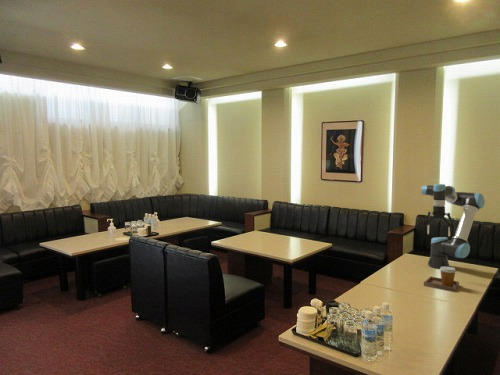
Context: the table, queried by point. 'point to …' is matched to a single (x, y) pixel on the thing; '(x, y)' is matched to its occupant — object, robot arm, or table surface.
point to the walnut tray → (440, 284)
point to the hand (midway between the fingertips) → (438, 234)
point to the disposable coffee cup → (447, 275)
